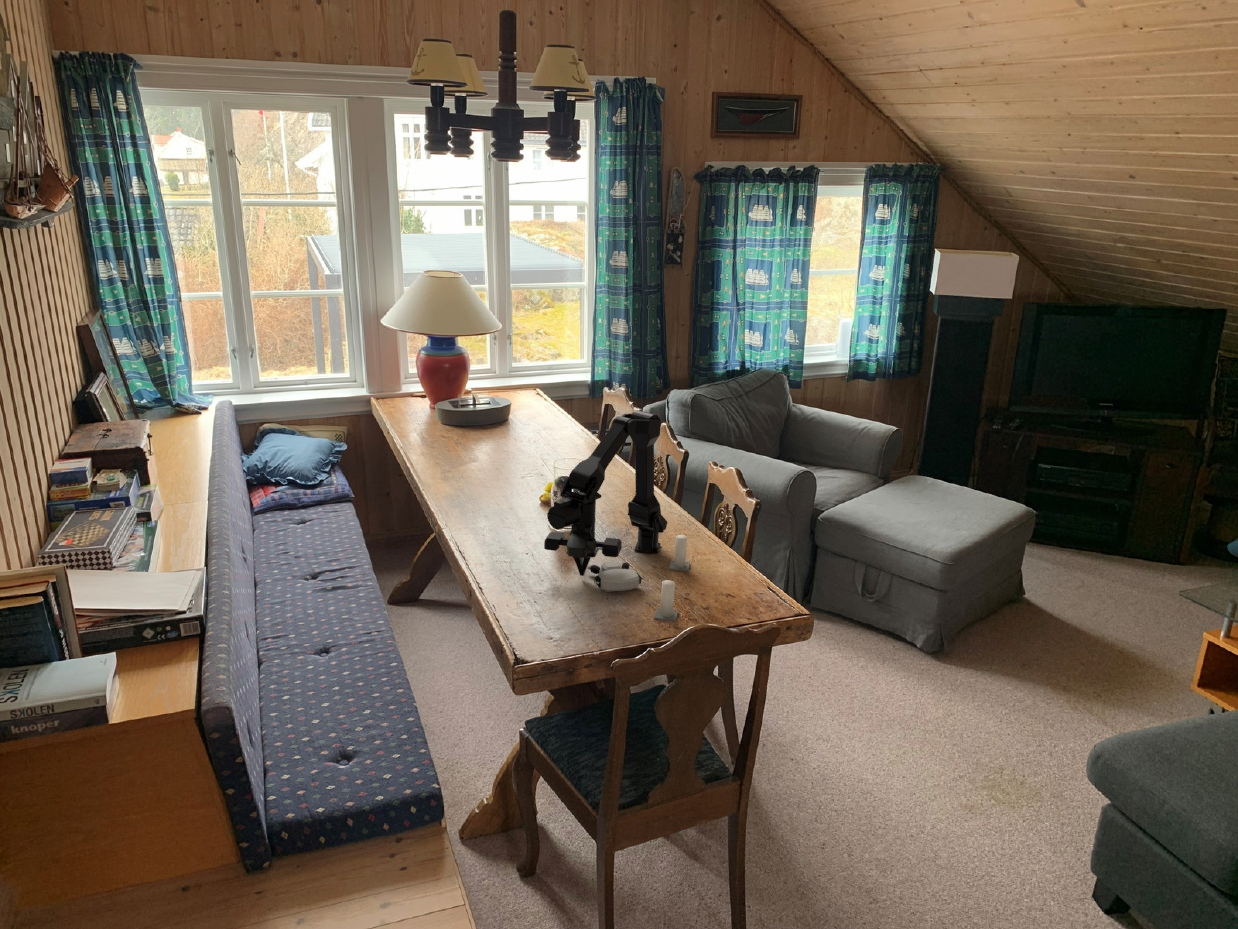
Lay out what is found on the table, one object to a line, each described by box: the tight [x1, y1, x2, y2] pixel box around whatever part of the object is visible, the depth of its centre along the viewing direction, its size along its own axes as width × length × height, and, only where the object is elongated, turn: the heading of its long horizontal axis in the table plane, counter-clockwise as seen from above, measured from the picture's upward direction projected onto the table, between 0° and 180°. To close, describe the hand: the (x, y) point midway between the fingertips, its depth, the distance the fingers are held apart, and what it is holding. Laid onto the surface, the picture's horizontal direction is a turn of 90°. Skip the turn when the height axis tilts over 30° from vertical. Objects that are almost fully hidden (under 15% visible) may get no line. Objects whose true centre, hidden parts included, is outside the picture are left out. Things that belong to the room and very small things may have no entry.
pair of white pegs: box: [653, 534, 691, 623], centre depth 221 cm, size 33×5×9 cm, turn 170°
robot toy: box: [586, 560, 647, 593], centre depth 224 cm, size 12×4×15 cm
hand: (582, 575), depth 225 cm, fingers closed
